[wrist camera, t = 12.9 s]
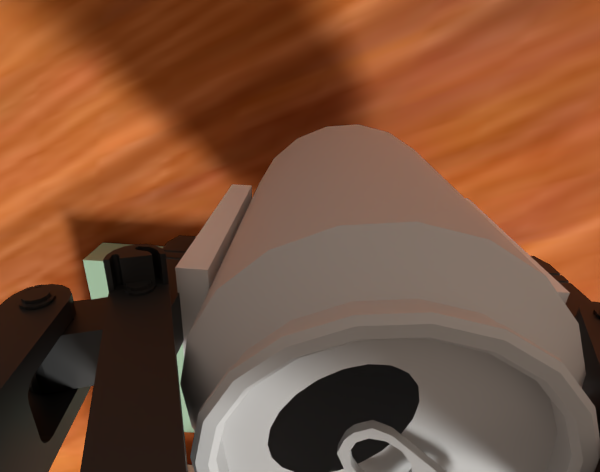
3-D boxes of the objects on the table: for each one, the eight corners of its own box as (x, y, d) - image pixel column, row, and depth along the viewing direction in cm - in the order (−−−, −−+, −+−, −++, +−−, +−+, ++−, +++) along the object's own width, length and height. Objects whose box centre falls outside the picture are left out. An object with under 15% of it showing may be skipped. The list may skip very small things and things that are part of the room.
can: (339, 78, 15) (403, 137, 4) (469, 203, 16) (771, 492, 5) (222, 216, 17) (55, 495, 6) (346, 311, 19) (385, 656, 8)
